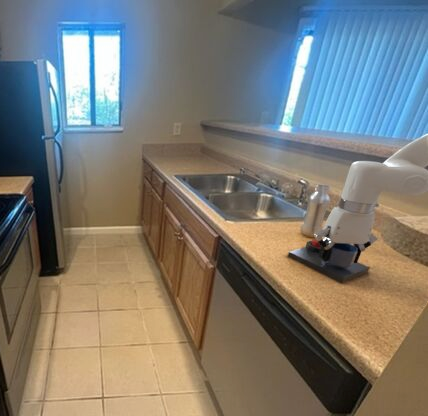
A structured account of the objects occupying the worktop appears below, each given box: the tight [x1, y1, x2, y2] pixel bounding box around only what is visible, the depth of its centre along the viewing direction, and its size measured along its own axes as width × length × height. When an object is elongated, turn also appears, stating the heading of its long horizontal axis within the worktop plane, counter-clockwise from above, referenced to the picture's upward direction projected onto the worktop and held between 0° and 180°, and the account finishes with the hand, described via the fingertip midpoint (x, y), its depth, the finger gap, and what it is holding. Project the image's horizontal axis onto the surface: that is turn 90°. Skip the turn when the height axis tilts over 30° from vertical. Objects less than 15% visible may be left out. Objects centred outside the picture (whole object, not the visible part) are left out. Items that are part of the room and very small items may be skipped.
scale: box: [287, 240, 370, 284], centre depth 87 cm, size 16×13×4 cm
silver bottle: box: [300, 184, 331, 238], centre depth 103 cm, size 6×7×20 cm
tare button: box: [312, 238, 321, 247], centre depth 92 cm, size 3×3×2 cm
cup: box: [326, 241, 358, 268], centre depth 83 cm, size 7×7×6 cm
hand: (337, 259), depth 83 cm, fingers closed on cup, 7 cm apart
